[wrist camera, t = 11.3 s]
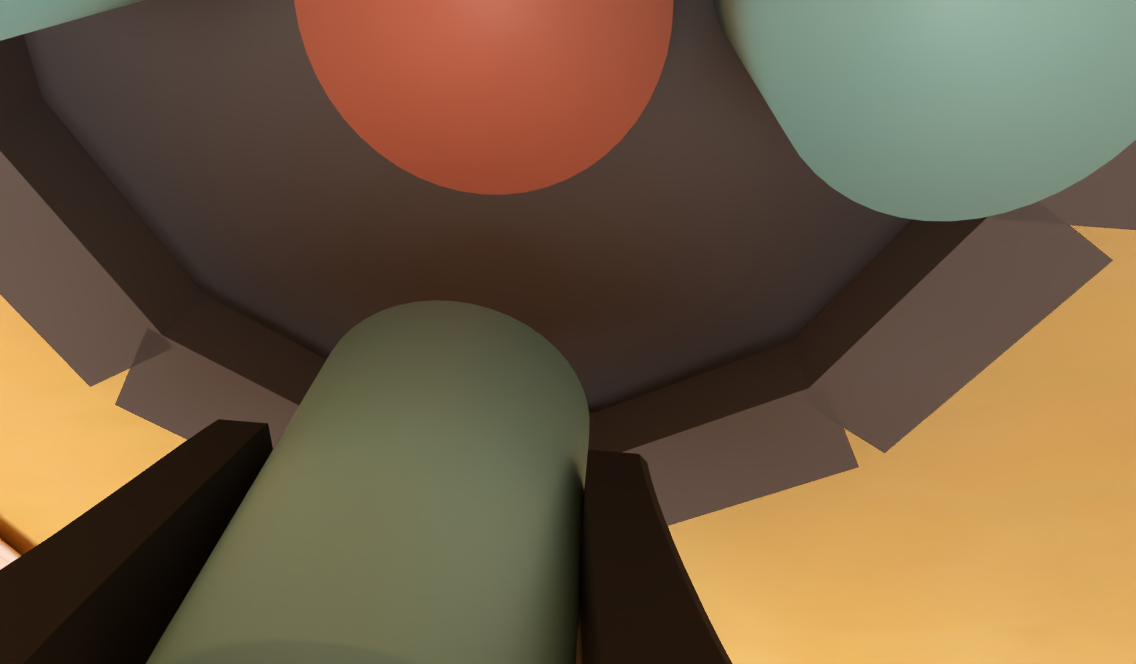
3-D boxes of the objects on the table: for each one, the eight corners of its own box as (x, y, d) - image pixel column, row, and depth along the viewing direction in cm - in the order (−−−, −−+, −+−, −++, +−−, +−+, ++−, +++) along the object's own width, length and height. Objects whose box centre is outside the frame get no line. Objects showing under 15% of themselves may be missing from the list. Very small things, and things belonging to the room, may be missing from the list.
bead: (476, 553, 12) (398, 927, 8) (268, 420, 11) (43, 775, 7) (647, 417, 10) (664, 793, 6) (424, 244, 9) (258, 563, 5)
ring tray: (1550, -1061, 7) (1953, -1467, 5) (927, 484, 17) (971, 573, 15) (-448, -1136, 7) (-879, -1540, 5) (84, 413, 17) (8, 490, 15)
